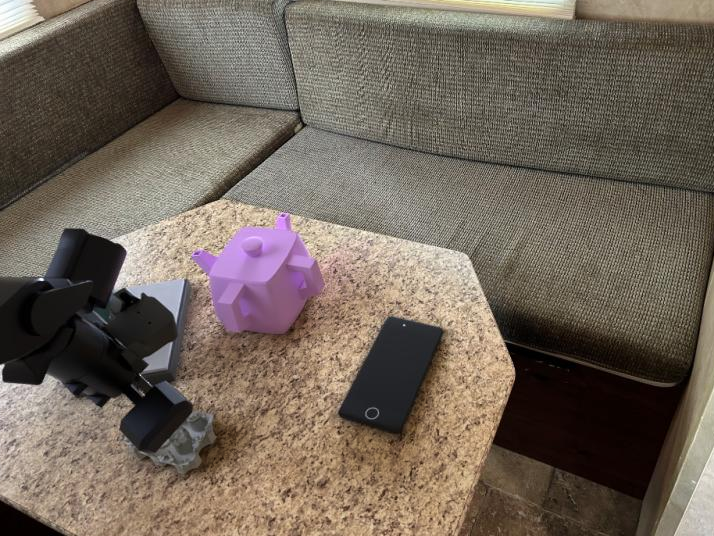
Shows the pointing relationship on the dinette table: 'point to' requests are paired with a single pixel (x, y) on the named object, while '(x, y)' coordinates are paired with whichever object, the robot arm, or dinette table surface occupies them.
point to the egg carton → (181, 443)
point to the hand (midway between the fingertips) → (153, 398)
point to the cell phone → (391, 375)
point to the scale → (177, 302)
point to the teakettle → (261, 278)
